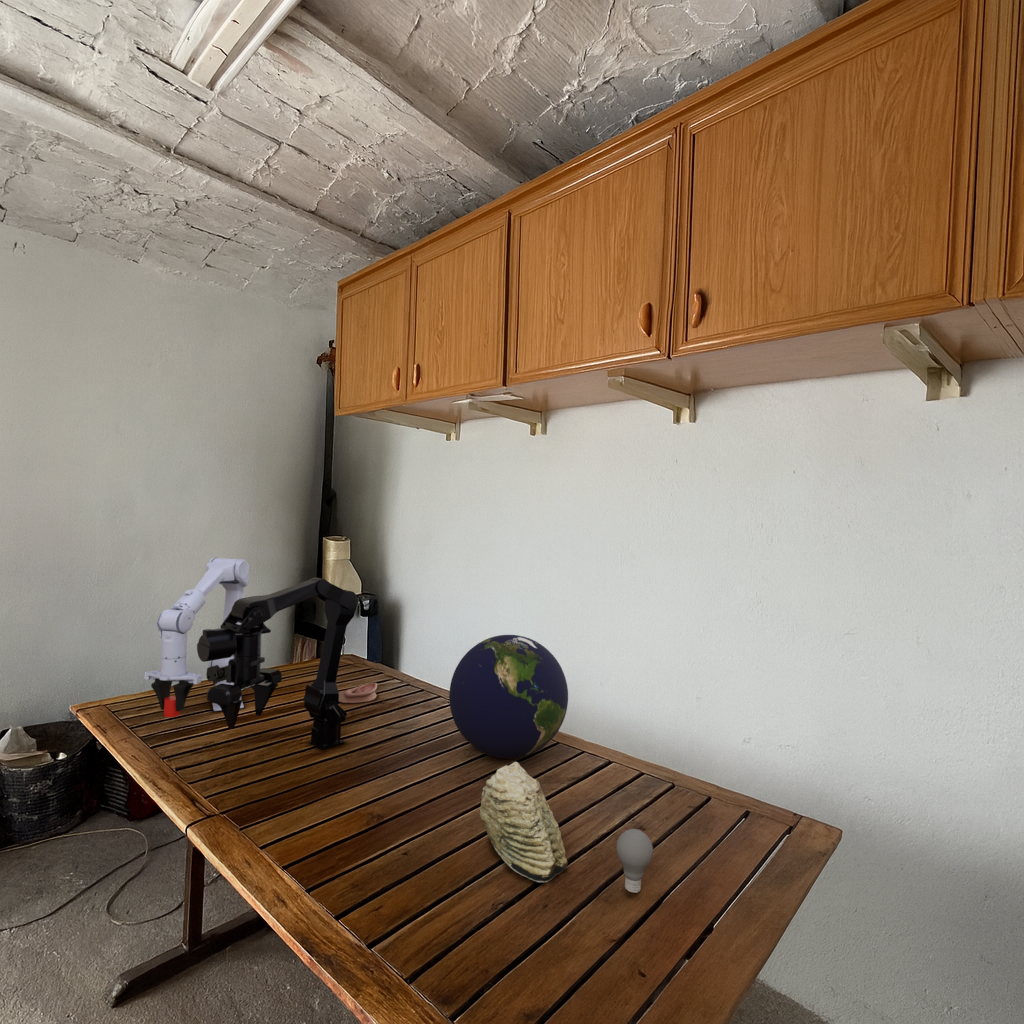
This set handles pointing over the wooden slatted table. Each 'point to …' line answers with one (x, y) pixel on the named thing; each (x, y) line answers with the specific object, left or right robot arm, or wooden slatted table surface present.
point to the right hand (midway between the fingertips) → (245, 721)
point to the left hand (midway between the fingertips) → (172, 709)
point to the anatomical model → (359, 694)
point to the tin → (170, 707)
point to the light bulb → (634, 857)
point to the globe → (508, 696)
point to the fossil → (522, 824)
